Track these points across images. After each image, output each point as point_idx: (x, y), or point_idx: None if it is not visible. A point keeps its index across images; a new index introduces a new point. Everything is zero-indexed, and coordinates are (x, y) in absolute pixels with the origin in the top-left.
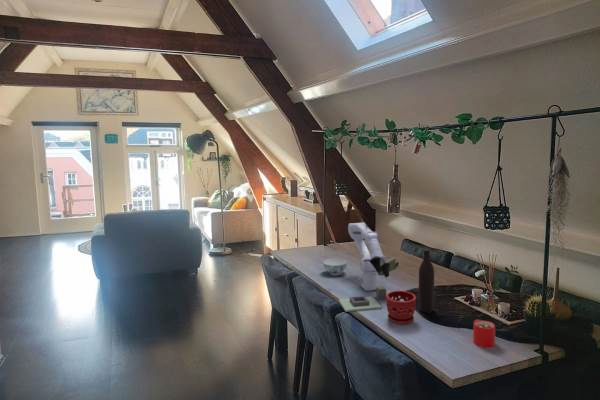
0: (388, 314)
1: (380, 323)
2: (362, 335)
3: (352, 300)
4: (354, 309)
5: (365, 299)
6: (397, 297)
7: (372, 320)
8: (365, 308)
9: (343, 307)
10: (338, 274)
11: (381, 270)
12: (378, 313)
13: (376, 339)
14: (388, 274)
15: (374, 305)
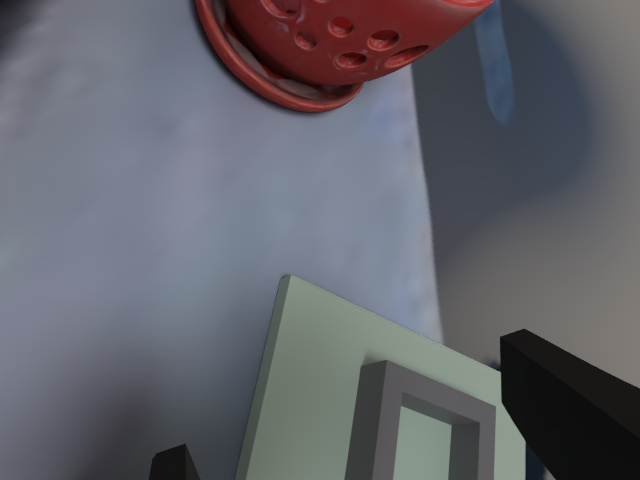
0: (349, 95)
1: (401, 105)
2: (512, 88)
3: (492, 463)
4: (475, 361)
5: (397, 425)
6: (337, 2)
7: (422, 167)
8: (407, 329)
9: (520, 450)
10: None
11: (513, 342)
12: (344, 221)
13: (478, 19)
14: (188, 460)
15: (327, 333)
